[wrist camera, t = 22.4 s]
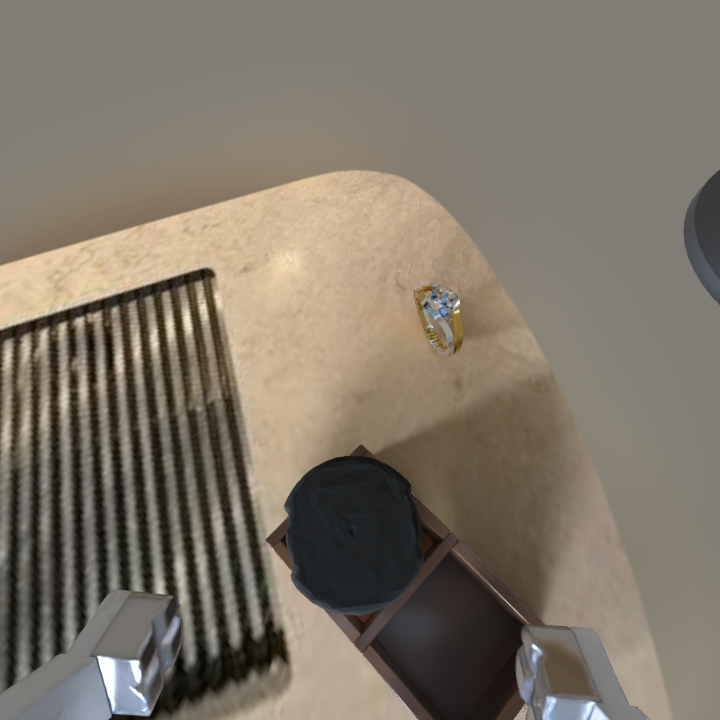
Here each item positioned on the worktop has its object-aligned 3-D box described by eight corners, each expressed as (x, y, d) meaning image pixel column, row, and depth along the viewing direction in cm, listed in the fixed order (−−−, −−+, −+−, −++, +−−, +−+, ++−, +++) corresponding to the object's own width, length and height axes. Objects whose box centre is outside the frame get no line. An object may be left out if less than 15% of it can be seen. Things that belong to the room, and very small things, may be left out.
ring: (460, 363, 45) (477, 325, 38) (430, 374, 45) (441, 338, 37) (432, 306, 48) (442, 260, 40) (403, 315, 47) (408, 271, 40)
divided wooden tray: (539, 632, 36) (567, 645, 30) (454, 745, 33) (469, 781, 28) (363, 458, 42) (361, 443, 36) (280, 542, 39) (264, 540, 34)
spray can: (396, 493, 39) (411, 438, 21) (411, 580, 37) (445, 604, 18) (319, 506, 39) (267, 461, 21) (329, 594, 36) (279, 631, 18)
